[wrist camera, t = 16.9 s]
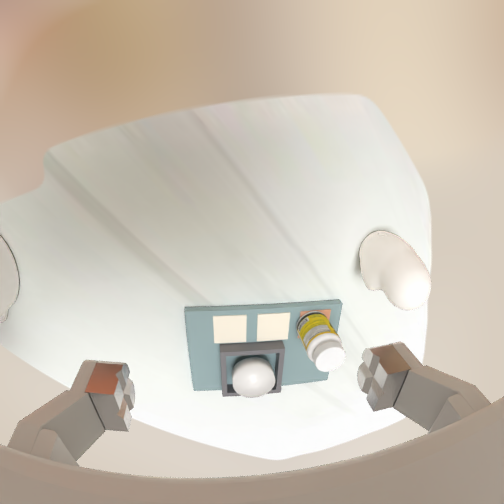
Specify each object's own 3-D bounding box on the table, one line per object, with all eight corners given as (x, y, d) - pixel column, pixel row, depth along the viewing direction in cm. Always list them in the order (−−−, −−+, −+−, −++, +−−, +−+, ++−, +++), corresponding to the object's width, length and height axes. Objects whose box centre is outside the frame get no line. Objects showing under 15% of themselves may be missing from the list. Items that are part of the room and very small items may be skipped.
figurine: (349, 277, 43) (390, 320, 31) (360, 225, 40) (409, 257, 29) (389, 278, 44) (434, 317, 33) (401, 230, 41) (453, 260, 30)
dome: (231, 380, 45) (233, 400, 41) (230, 351, 43) (232, 371, 39) (269, 378, 46) (274, 397, 42) (271, 349, 44) (277, 368, 40)
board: (194, 385, 46) (193, 399, 43) (185, 307, 41) (183, 319, 38) (324, 375, 49) (330, 387, 46) (339, 299, 44) (347, 310, 41)
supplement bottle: (327, 333, 44) (348, 369, 36) (297, 340, 44) (313, 378, 36) (326, 306, 42) (349, 340, 34) (294, 314, 42) (311, 350, 34)
